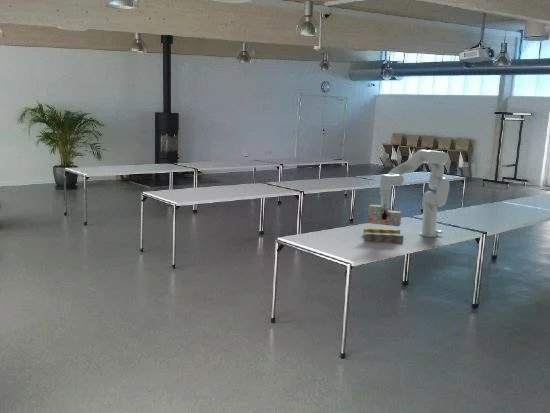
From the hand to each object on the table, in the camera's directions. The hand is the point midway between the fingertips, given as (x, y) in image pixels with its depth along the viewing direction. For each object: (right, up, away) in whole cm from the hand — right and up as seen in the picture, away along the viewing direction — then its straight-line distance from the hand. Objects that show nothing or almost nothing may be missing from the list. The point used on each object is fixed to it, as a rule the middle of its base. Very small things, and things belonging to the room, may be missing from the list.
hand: (383, 218), depth 368 cm
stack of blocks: (0, -4, +1) cm, 4 cm away
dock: (0, -15, +3) cm, 15 cm away
